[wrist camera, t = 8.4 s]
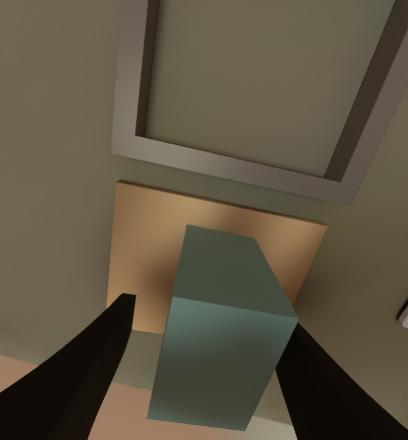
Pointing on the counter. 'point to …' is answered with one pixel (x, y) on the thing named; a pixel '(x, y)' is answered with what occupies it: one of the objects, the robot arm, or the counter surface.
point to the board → (173, 239)
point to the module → (220, 332)
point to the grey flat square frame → (243, 169)
